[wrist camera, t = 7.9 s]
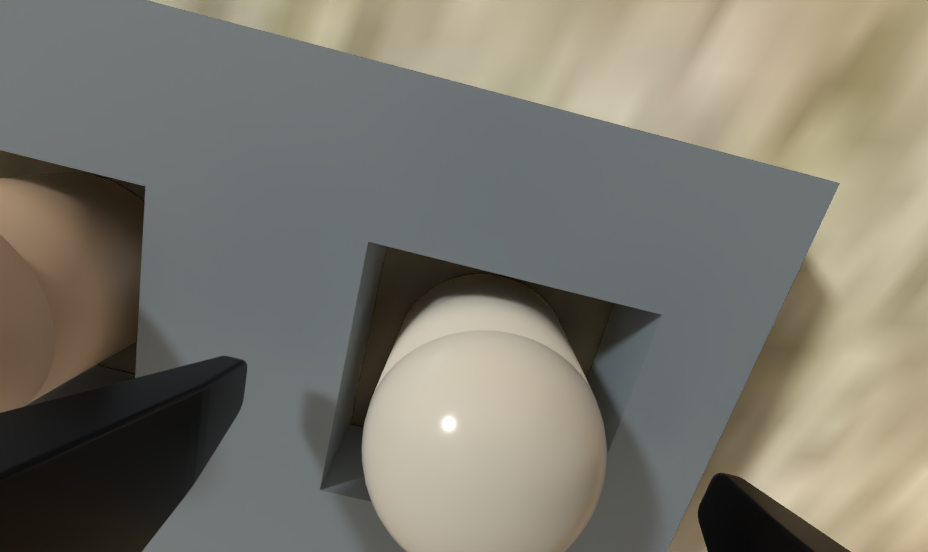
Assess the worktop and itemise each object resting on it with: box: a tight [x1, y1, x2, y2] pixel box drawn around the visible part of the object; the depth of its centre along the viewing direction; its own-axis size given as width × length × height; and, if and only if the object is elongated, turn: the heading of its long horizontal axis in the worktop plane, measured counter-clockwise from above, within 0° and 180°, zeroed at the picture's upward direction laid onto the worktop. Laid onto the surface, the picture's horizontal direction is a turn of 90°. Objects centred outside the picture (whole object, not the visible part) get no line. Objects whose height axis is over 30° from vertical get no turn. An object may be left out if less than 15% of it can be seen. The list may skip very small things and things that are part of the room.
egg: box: [362, 274, 607, 552], centre depth 9 cm, size 4×4×6 cm
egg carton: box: [0, 0, 840, 552], centre depth 9 cm, size 20×12×6 cm, turn 76°
